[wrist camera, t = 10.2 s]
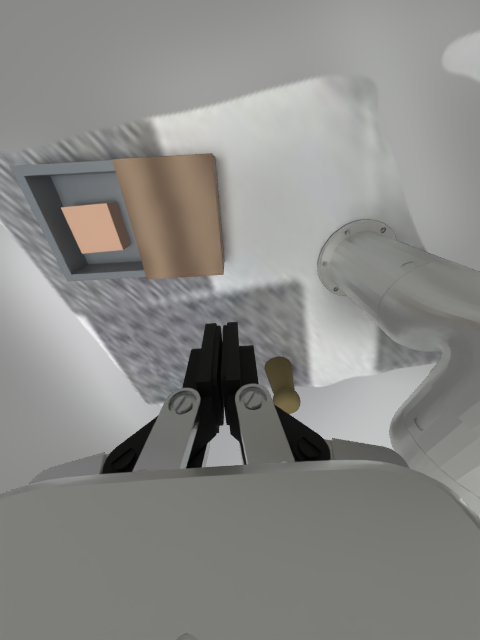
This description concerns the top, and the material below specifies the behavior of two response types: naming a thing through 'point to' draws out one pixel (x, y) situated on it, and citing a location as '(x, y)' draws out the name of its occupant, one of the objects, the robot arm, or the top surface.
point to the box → (76, 189)
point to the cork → (282, 384)
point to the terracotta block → (97, 227)
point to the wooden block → (174, 213)
